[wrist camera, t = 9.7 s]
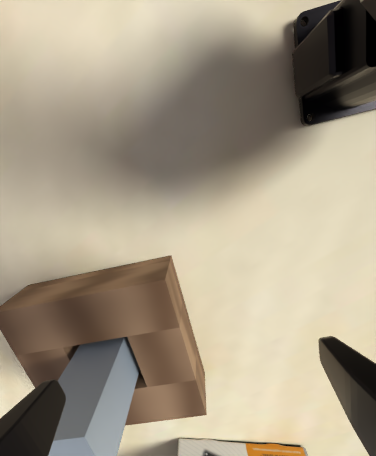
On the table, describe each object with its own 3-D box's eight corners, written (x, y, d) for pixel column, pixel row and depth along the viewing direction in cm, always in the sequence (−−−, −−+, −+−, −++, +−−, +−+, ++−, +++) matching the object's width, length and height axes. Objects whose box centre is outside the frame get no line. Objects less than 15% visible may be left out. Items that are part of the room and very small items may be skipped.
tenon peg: (131, 318, 20) (84, 437, 12) (144, 351, 21) (109, 481, 13) (91, 326, 21) (17, 445, 12) (106, 358, 22) (47, 487, 13)
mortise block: (171, 255, 19) (165, 279, 15) (204, 373, 23) (206, 414, 19) (28, 285, 21) (-10, 313, 17) (83, 390, 25) (62, 433, 21)
